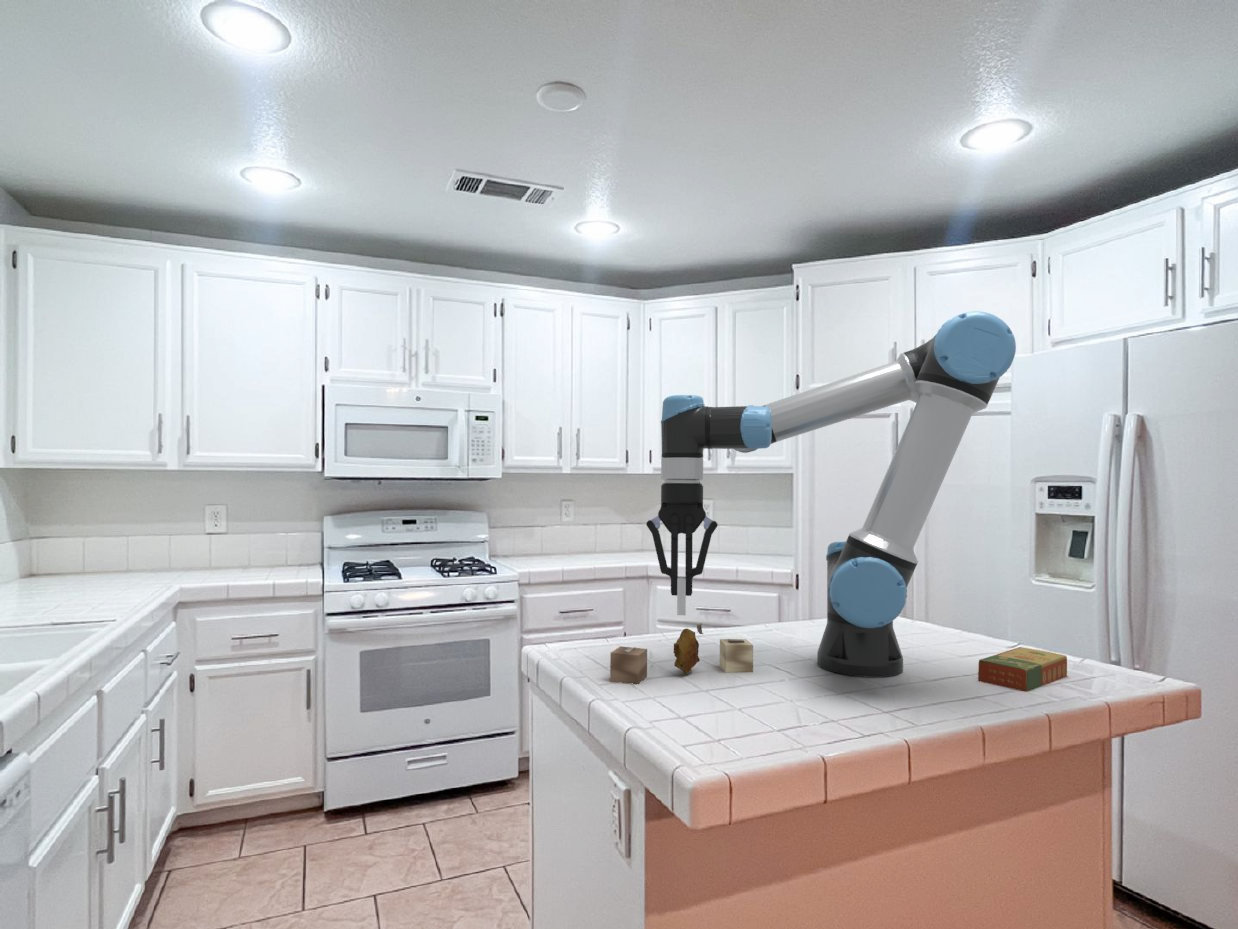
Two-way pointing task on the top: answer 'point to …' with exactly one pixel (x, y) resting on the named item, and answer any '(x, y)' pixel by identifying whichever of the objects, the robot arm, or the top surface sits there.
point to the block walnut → (628, 665)
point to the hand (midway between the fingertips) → (681, 613)
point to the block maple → (736, 656)
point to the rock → (687, 650)
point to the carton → (1022, 668)
